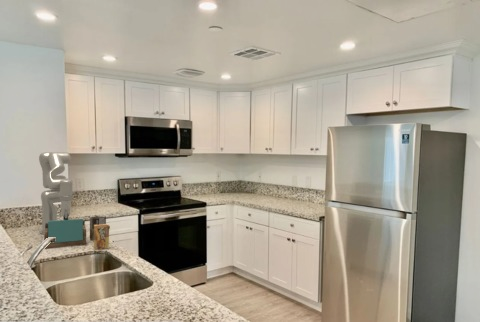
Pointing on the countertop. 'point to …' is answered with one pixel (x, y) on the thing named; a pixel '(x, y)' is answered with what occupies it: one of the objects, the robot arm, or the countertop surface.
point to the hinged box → (66, 244)
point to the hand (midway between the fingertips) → (65, 226)
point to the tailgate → (66, 230)
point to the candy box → (101, 236)
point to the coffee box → (95, 221)
